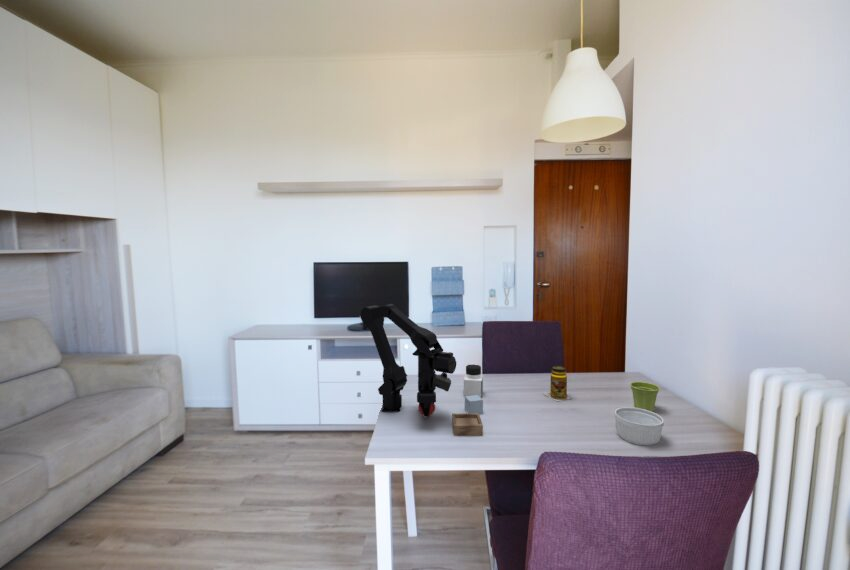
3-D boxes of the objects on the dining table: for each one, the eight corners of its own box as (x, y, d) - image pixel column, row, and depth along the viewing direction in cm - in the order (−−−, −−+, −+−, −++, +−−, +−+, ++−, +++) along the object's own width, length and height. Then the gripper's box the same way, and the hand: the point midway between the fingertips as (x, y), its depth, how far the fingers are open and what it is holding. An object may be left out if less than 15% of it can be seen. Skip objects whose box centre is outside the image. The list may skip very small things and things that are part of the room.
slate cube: (469, 415, 133) (469, 401, 132) (464, 409, 138) (464, 396, 137) (482, 413, 134) (482, 399, 134) (477, 408, 139) (477, 394, 139)
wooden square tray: (453, 437, 118) (453, 425, 117) (452, 424, 126) (452, 413, 126) (482, 436, 117) (482, 425, 117) (478, 424, 126) (478, 413, 126)
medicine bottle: (481, 397, 149) (481, 368, 148) (463, 396, 150) (463, 367, 149) (482, 391, 156) (482, 363, 155) (465, 390, 157) (465, 362, 156)
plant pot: (627, 402, 143) (627, 380, 142) (655, 405, 139) (656, 383, 139) (631, 412, 134) (632, 388, 133) (662, 416, 131) (663, 391, 130)
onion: (423, 422, 127) (422, 399, 126) (415, 415, 132) (415, 393, 132) (438, 418, 130) (437, 396, 129) (430, 412, 135) (430, 390, 134)
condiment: (557, 401, 144) (558, 371, 143) (542, 394, 152) (543, 365, 151) (572, 398, 147) (572, 368, 146) (556, 391, 155) (557, 363, 154)
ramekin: (674, 445, 111) (675, 422, 110) (635, 450, 108) (636, 427, 107) (639, 425, 124) (640, 405, 123) (604, 429, 121) (605, 408, 120)
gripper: (451, 377, 120) (451, 424, 122) (448, 361, 139) (448, 402, 140) (416, 377, 120) (417, 424, 122) (418, 361, 139) (418, 402, 140)
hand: (426, 412), depth 131 cm, fingers closed on onion, 6 cm apart
